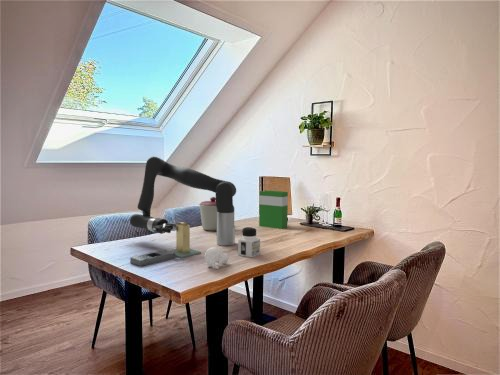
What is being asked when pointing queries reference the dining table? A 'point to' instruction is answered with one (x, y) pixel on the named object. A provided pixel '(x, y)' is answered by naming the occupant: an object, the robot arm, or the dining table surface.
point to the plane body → (152, 258)
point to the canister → (209, 214)
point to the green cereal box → (273, 209)
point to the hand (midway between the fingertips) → (177, 229)
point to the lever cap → (183, 237)
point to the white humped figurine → (215, 257)
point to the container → (249, 243)
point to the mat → (182, 255)
